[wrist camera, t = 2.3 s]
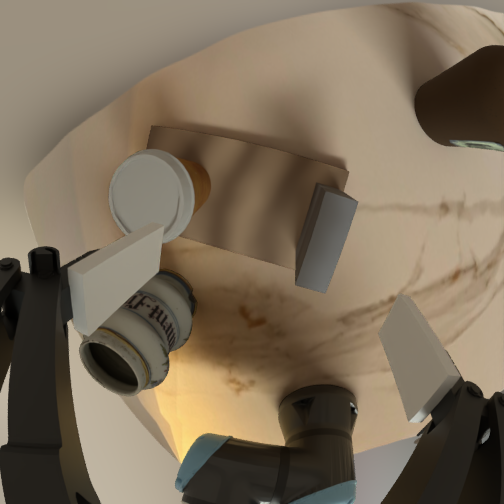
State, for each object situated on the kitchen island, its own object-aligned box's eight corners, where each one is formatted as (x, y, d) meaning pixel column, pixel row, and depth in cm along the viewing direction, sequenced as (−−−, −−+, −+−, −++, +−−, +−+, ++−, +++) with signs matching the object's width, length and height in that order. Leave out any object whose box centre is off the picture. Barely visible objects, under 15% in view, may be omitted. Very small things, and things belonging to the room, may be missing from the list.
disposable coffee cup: (154, 156, 34) (98, 161, 23) (219, 143, 32) (180, 138, 21) (165, 223, 37) (115, 251, 26) (229, 216, 35) (197, 245, 24)
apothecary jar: (215, 323, 42) (174, 410, 25) (155, 333, 44) (102, 404, 28) (185, 252, 38) (114, 318, 22) (124, 271, 41) (51, 329, 24)
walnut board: (347, 171, 31) (371, 176, 21) (314, 272, 36) (320, 316, 26) (155, 126, 33) (106, 118, 22) (139, 221, 38) (92, 243, 27)
